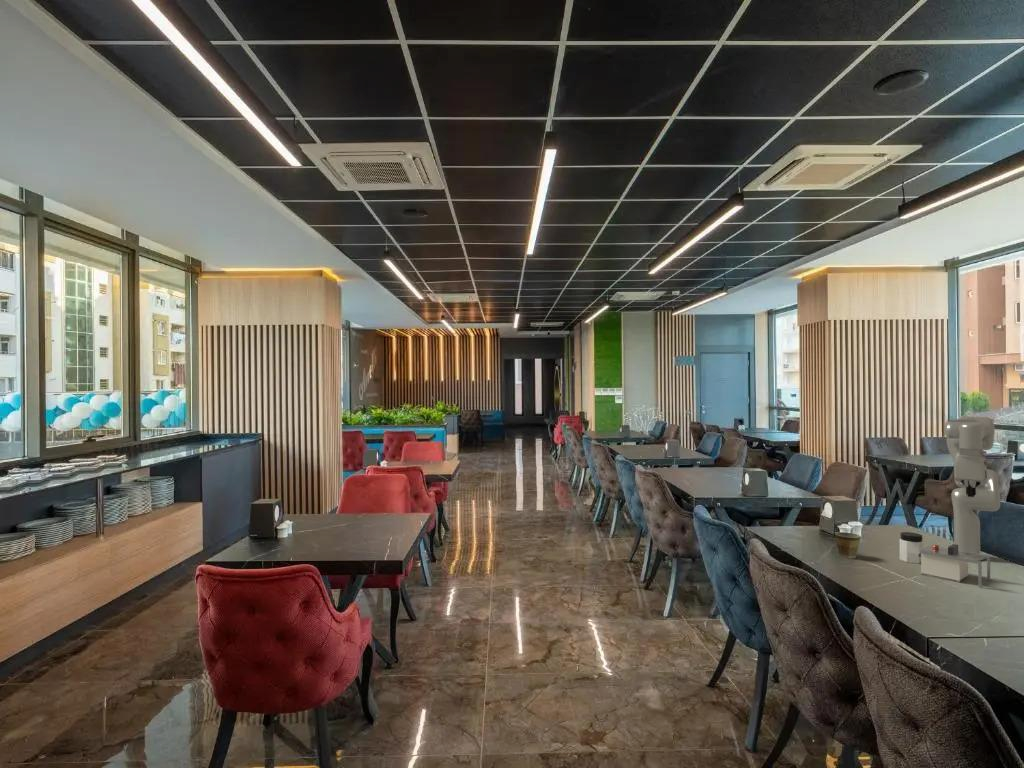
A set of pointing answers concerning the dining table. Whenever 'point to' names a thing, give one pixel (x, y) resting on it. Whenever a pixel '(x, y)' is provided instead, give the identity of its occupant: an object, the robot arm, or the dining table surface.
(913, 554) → the jar
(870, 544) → the dining table surface
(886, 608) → the dining table surface
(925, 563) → the white box with rails
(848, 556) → the ceramic cup
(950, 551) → the lid
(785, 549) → the dining table surface
